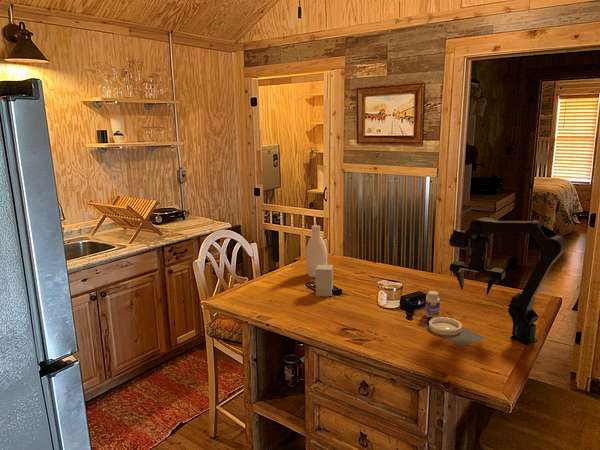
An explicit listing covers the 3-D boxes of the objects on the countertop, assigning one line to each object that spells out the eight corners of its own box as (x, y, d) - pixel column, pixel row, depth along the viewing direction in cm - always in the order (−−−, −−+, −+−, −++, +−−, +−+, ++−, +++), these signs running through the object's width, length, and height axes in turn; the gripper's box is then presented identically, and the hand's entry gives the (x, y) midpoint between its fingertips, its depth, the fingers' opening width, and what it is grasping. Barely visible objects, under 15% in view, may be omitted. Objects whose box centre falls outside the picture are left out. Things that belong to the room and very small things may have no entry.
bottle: (331, 273, 238) (331, 225, 232) (320, 279, 229) (320, 229, 223) (312, 270, 244) (312, 222, 238) (301, 276, 234) (300, 227, 229)
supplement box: (331, 296, 206) (331, 269, 204) (315, 296, 208) (314, 269, 205) (333, 290, 214) (333, 264, 211) (317, 290, 215) (317, 264, 212)
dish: (468, 330, 171) (468, 325, 170) (446, 338, 165) (446, 333, 164) (443, 319, 180) (444, 314, 180) (422, 326, 175) (422, 321, 174)
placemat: (485, 338, 165) (485, 337, 165) (462, 347, 159) (462, 346, 159) (441, 318, 182) (441, 318, 182) (419, 326, 176) (419, 325, 175)
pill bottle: (429, 319, 181) (430, 295, 179) (422, 314, 186) (423, 291, 184) (442, 317, 183) (443, 294, 180) (434, 312, 188) (435, 289, 186)
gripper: (510, 251, 171) (506, 290, 174) (459, 243, 182) (457, 280, 185) (503, 258, 162) (498, 300, 166) (450, 249, 173) (447, 289, 177)
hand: (474, 292), depth 174 cm, fingers open, 9 cm apart
